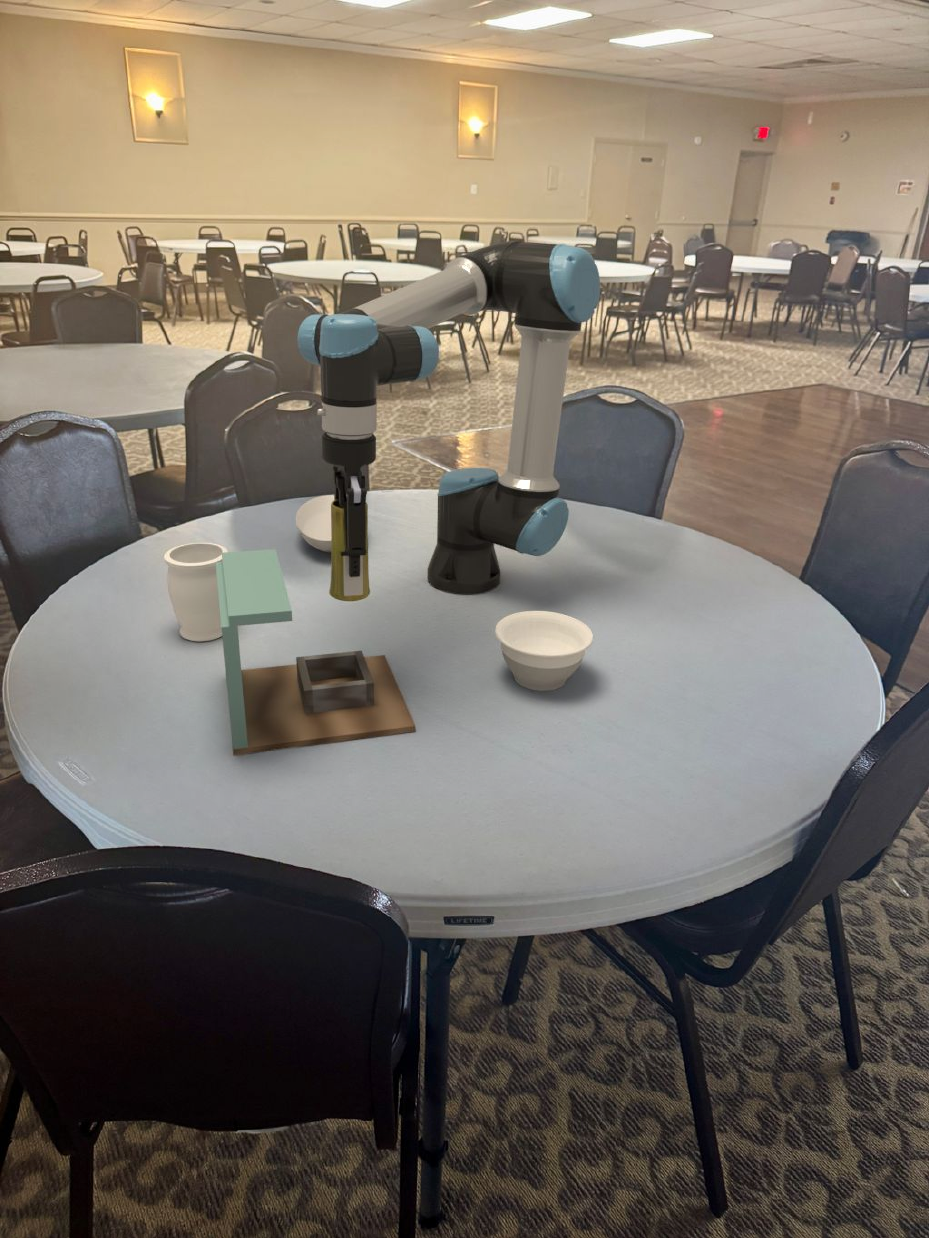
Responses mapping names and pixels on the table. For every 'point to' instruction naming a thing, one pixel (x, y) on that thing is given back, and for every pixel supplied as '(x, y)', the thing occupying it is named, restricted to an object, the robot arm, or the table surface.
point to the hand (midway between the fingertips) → (349, 585)
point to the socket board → (322, 702)
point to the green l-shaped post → (247, 616)
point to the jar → (195, 589)
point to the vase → (338, 560)
